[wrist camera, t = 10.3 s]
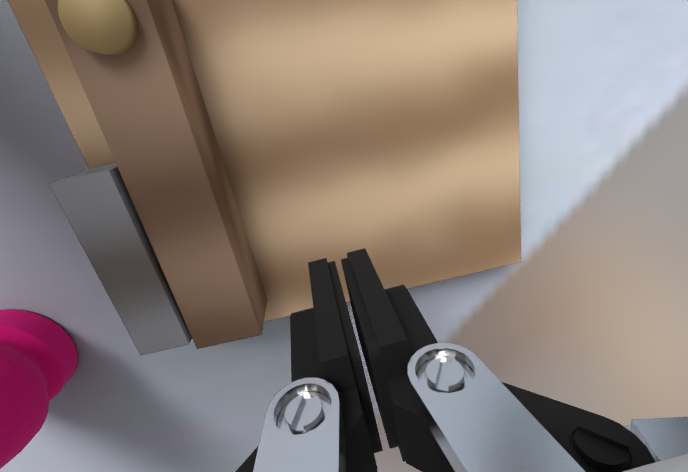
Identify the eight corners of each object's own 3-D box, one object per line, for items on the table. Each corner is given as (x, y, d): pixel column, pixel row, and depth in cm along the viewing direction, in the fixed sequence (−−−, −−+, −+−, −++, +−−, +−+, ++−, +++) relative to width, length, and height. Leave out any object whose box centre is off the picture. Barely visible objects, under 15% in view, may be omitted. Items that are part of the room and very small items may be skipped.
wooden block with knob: (40, -22, 16) (-118, -89, 10) (478, -116, 16) (579, -236, 10) (188, 312, 23) (148, 391, 17) (495, 241, 23) (561, 294, 17)
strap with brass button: (87, -3, 14) (18, -32, 10) (165, -18, 14) (121, -53, 11) (212, 311, 19) (193, 358, 16) (267, 300, 19) (259, 343, 16)
